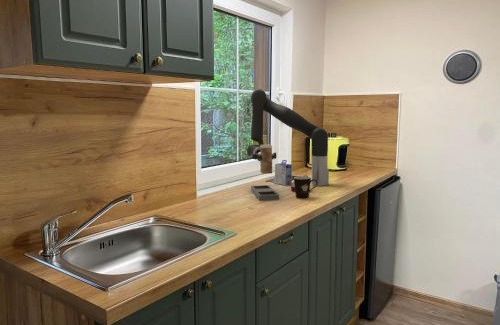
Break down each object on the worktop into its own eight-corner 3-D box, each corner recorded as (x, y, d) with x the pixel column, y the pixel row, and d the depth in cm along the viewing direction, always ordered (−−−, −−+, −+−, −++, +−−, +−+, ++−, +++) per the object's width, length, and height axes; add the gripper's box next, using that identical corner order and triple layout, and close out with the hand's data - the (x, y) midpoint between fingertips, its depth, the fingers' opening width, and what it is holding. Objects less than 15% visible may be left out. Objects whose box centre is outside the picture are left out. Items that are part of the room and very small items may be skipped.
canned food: (308, 200, 200) (309, 186, 195) (289, 198, 202) (290, 184, 197) (309, 187, 209) (311, 173, 204) (292, 185, 211) (292, 171, 205)
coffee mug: (292, 198, 185) (292, 179, 183) (294, 195, 193) (294, 176, 192) (316, 199, 182) (316, 179, 181) (317, 195, 190) (317, 176, 189)
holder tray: (268, 189, 209) (268, 185, 209) (279, 199, 183) (279, 194, 183) (251, 190, 207) (250, 186, 207) (259, 200, 182) (259, 195, 182)
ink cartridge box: (292, 184, 222) (292, 160, 220) (285, 185, 219) (285, 161, 217) (280, 182, 230) (280, 159, 228) (274, 183, 226) (274, 160, 225)
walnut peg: (270, 171, 189) (269, 144, 187) (272, 173, 184) (271, 145, 182) (260, 172, 188) (260, 144, 186) (262, 173, 183) (261, 145, 182)
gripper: (247, 147, 198) (252, 150, 181) (274, 146, 200) (281, 149, 183) (248, 161, 199) (253, 165, 182) (274, 160, 201) (281, 164, 184)
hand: (267, 157), depth 183 cm, fingers closed on walnut peg, 5 cm apart
